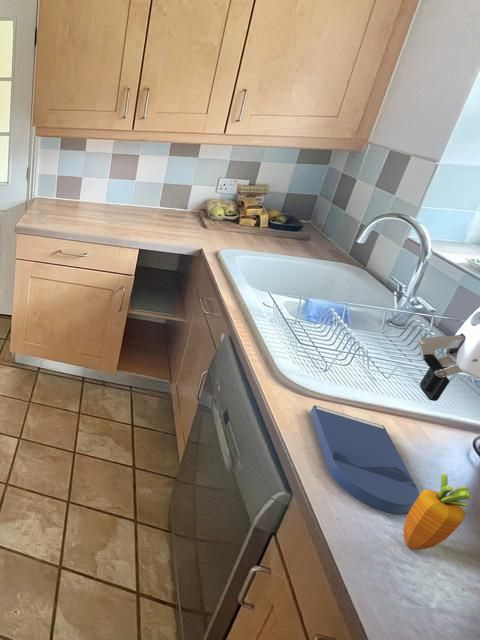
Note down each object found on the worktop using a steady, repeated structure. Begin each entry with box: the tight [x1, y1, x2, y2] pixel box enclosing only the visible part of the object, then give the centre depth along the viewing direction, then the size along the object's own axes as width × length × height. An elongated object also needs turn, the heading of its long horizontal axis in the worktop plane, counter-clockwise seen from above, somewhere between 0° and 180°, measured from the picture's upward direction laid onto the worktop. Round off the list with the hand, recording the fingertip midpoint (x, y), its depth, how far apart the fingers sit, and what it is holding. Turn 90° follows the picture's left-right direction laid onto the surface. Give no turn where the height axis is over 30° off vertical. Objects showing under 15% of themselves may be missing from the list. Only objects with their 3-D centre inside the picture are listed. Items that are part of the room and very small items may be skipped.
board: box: [309, 404, 420, 515], centre depth 80 cm, size 12×22×3 cm, turn 153°
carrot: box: [402, 473, 472, 551], centre depth 63 cm, size 5×5×15 cm
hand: (473, 406), depth 59 cm, fingers open, 9 cm apart
